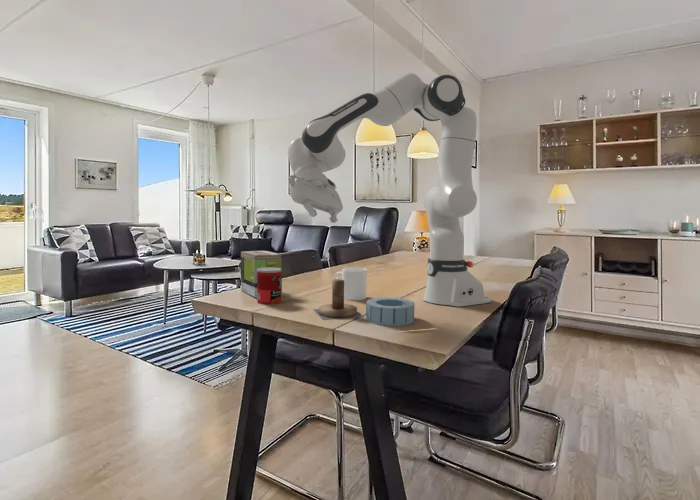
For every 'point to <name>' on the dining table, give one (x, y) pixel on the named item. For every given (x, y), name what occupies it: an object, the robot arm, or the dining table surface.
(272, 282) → the canned food
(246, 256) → the tea box
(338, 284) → the lid
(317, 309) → the mat
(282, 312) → the dining table surface
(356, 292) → the cup
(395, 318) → the grey ridged ring
